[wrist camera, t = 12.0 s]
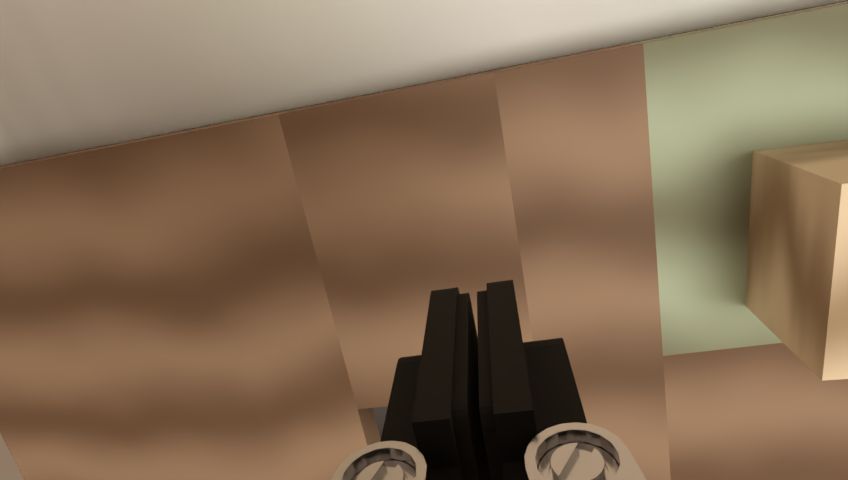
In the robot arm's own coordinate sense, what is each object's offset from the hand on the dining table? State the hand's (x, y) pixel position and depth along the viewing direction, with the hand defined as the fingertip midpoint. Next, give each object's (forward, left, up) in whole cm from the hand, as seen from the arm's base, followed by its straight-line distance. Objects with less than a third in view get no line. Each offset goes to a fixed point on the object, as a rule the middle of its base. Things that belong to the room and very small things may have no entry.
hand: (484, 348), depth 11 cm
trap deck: (+7, +1, -13) cm, 15 cm away
